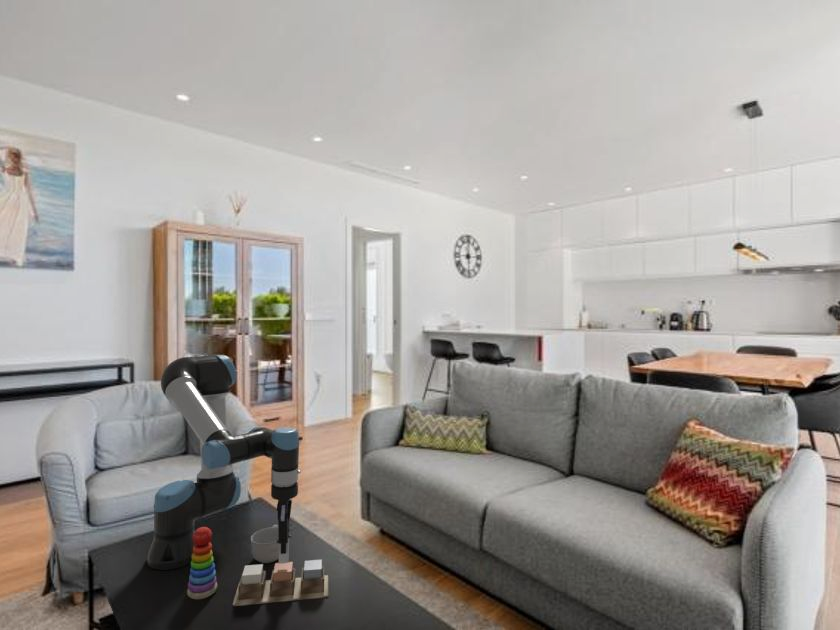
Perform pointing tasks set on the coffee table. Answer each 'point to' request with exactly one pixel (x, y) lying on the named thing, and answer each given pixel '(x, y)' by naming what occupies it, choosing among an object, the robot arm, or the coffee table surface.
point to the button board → (281, 590)
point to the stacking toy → (202, 566)
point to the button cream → (252, 574)
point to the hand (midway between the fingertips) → (283, 561)
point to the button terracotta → (283, 572)
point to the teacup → (265, 545)
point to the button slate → (313, 569)
